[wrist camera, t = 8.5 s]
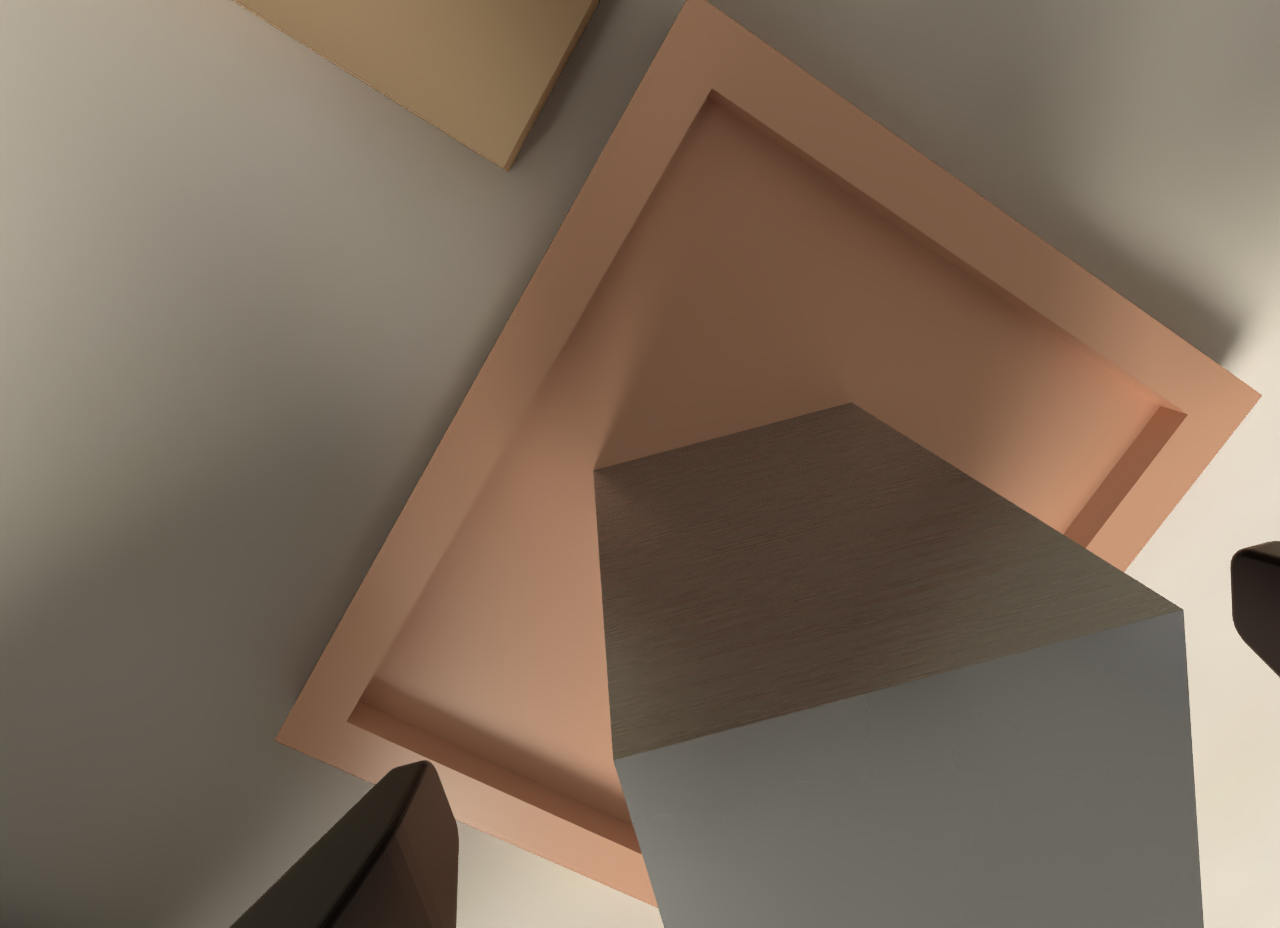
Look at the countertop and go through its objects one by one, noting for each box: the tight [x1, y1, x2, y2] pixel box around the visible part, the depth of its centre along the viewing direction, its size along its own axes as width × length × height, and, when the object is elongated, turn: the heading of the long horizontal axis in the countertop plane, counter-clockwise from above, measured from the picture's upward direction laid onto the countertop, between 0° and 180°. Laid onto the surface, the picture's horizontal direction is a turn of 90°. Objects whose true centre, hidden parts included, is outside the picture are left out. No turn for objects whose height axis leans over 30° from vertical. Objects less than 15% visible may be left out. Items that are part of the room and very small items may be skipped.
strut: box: [593, 402, 1204, 928], centre depth 9 cm, size 4×4×7 cm
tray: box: [274, 0, 1262, 908], centre depth 13 cm, size 12×10×1 cm
